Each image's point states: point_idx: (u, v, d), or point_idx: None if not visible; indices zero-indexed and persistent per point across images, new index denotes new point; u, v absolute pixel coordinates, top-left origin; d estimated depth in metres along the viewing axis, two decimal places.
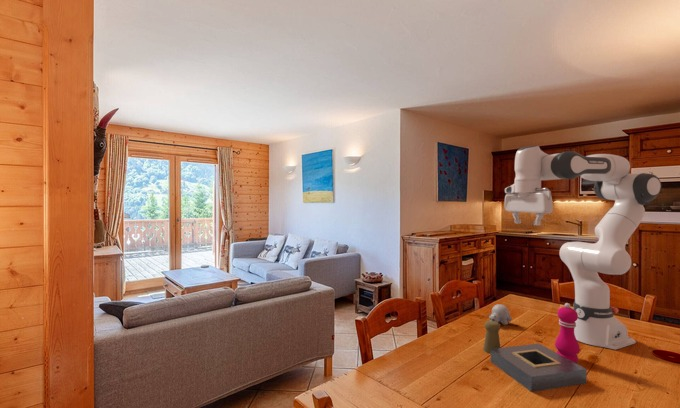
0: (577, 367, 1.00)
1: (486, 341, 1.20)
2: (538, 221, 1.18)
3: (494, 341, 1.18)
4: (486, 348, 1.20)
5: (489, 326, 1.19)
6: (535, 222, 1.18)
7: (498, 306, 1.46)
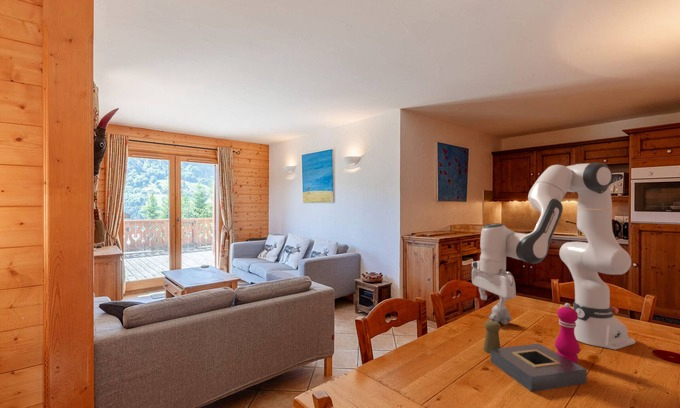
0: (577, 367, 1.00)
1: (486, 341, 1.20)
2: (502, 304, 1.15)
3: (494, 341, 1.18)
4: (486, 348, 1.20)
5: (489, 326, 1.19)
6: (499, 304, 1.15)
7: None
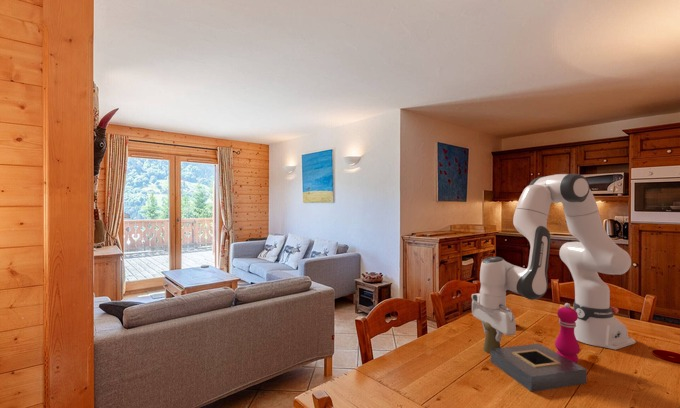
0: (577, 367, 1.00)
1: (486, 341, 1.20)
2: (498, 337, 1.17)
3: (494, 341, 1.18)
4: (486, 348, 1.20)
5: (489, 326, 1.19)
6: (496, 338, 1.17)
7: None
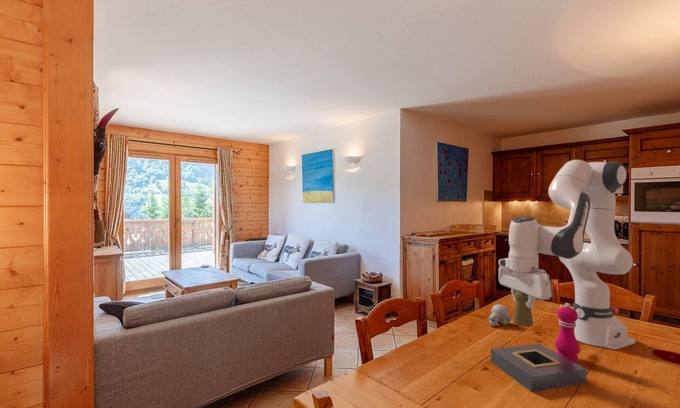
0: (577, 367, 1.00)
1: (516, 312, 1.09)
2: (530, 303, 1.06)
3: (525, 312, 1.07)
4: (516, 320, 1.09)
5: (519, 295, 1.08)
6: (527, 304, 1.07)
7: (498, 306, 1.46)
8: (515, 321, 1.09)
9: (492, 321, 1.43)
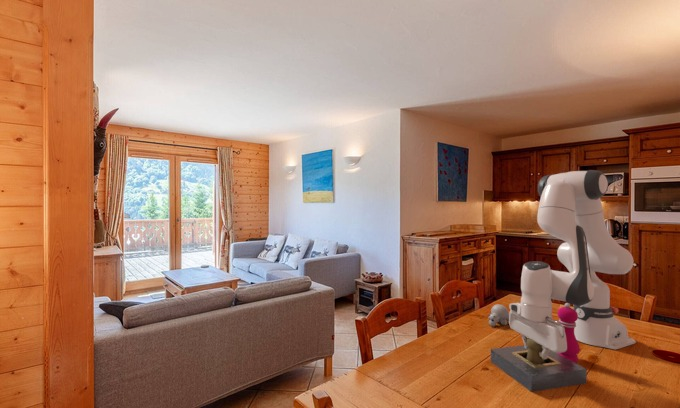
0: (577, 367, 1.00)
1: None
2: (545, 354, 1.02)
3: (538, 362, 1.03)
4: None
5: (532, 343, 1.04)
6: (541, 355, 1.02)
7: (497, 306, 1.46)
8: None
9: (492, 321, 1.43)
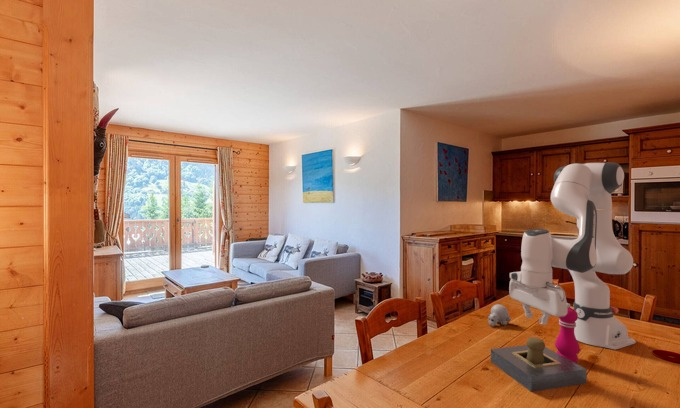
0: (577, 367, 1.00)
1: None
2: (544, 320, 1.02)
3: (538, 362, 1.03)
4: None
5: (532, 343, 1.04)
6: (541, 320, 1.02)
7: (497, 306, 1.46)
8: None
9: (492, 321, 1.43)
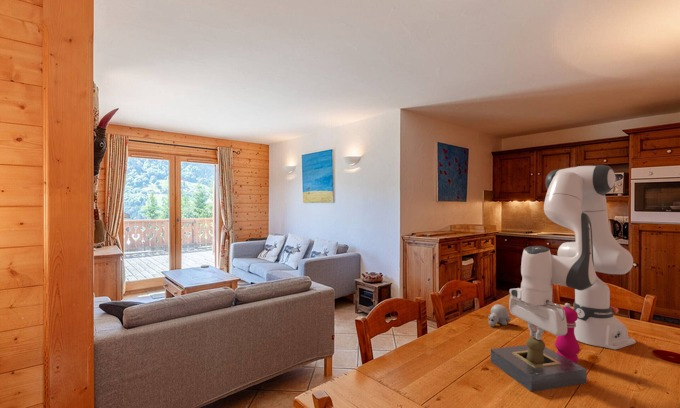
0: (577, 367, 1.00)
1: None
2: (539, 335, 1.04)
3: (538, 362, 1.03)
4: None
5: (532, 343, 1.04)
6: (535, 336, 1.05)
7: (497, 306, 1.46)
8: None
9: (492, 321, 1.43)
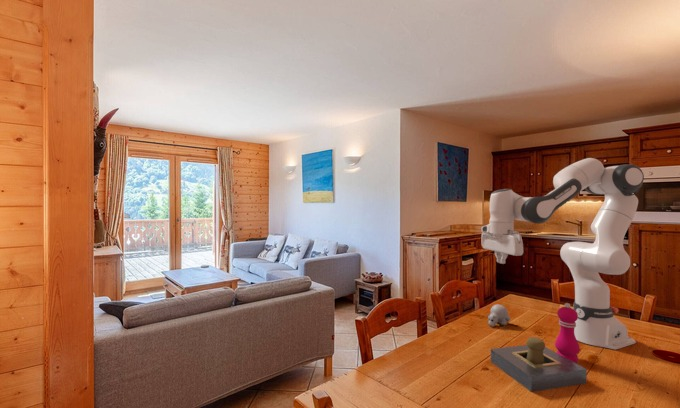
0: (577, 367, 1.00)
1: None
2: (503, 260, 1.28)
3: (538, 362, 1.03)
4: None
5: (532, 343, 1.04)
6: (500, 260, 1.29)
7: (497, 306, 1.46)
8: None
9: (491, 321, 1.43)
